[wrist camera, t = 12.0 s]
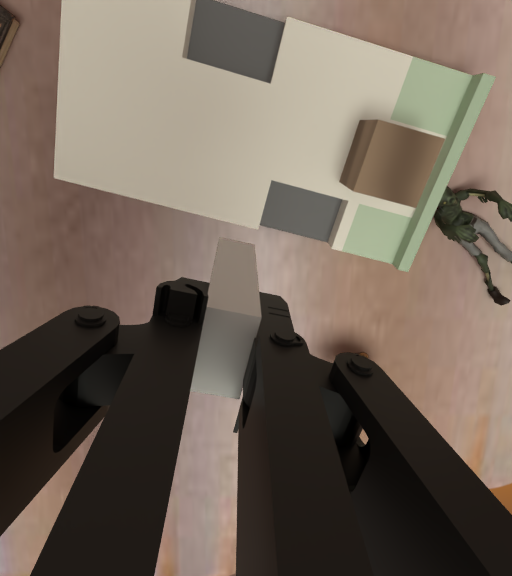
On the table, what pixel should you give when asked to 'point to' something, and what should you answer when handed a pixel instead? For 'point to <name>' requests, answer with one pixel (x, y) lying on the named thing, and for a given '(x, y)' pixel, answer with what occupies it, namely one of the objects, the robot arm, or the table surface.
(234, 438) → the table surface
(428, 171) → the walnut block
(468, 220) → the zombie figurine
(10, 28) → the hardcover book
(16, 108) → the table surface
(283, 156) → the trap board
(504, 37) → the table surface
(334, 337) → the table surface
